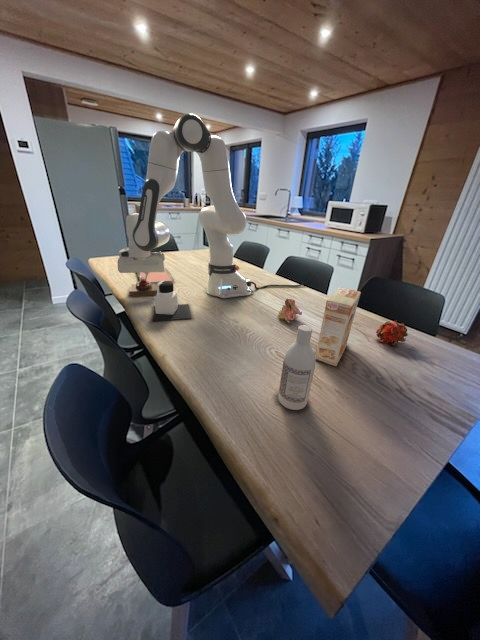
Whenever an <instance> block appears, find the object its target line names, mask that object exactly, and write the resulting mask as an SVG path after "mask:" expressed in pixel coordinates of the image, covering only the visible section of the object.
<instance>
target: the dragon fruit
mask: <svg viewBox="0 0 480 640" xmlns="http://www.w3.org/2000/svg"><path fill="white" fill-rule="evenodd" d="M375 333H376V337H377V338H378V340H377V342H380V343H383V344H387V343H390V344H391V346H395V345H396V346H397V344H398V342H400V343H405V342H406V337H408V328H407V326H406V325H405V324H404V323H399V322H398V321H397V320H394V321H393V322H391V321H390V320H388V321H386V322H385V323H382V324H380V325H379V328H378V329H376V331H375Z"/></svg>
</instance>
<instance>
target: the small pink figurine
mask: <svg viewBox="0 0 480 640" xmlns="http://www.w3.org/2000/svg"><path fill="white" fill-rule="evenodd" d="M297 315H299V316H302V315H303V312H302V311H300V309H299V307H297V306H296V301H295V299H293V298H290V297H289V298H286V299H285V300H284V304H283V305H282V307H281V309H280V310H278V314H277V317H278V318H280V320H285V321H286V322H287V323H288V324H290V320H291V321H294V318H296V317H297Z"/></svg>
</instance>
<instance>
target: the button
mask: <svg viewBox="0 0 480 640" xmlns="http://www.w3.org/2000/svg"><path fill="white" fill-rule="evenodd" d="M138 282H139V285H148V281H147V282H140V281H139V280H138Z"/></svg>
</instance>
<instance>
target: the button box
mask: <svg viewBox="0 0 480 640" xmlns="http://www.w3.org/2000/svg"><path fill="white" fill-rule="evenodd" d="M128 293H129V296H130V297H139V296H156V295H157V294H158V290H157V284H151V282H148V285H139V281H138V282H136V283H133V284H131V285H130V288H129V290H128Z"/></svg>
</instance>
